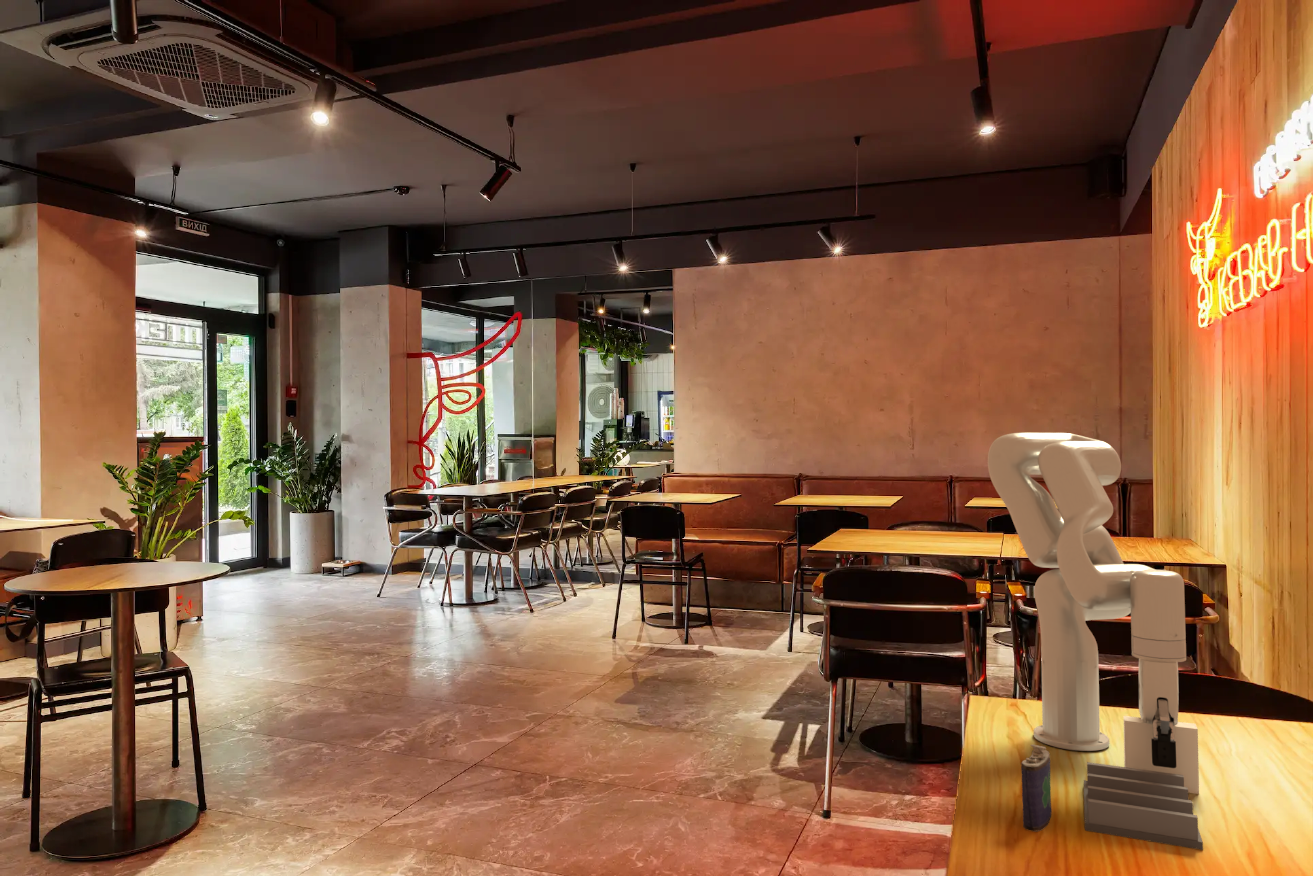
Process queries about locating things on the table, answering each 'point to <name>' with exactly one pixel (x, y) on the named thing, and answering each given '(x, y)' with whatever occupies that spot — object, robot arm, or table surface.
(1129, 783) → the rack
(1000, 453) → the robot arm
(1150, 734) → the beige square block
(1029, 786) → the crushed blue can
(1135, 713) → the table surface
